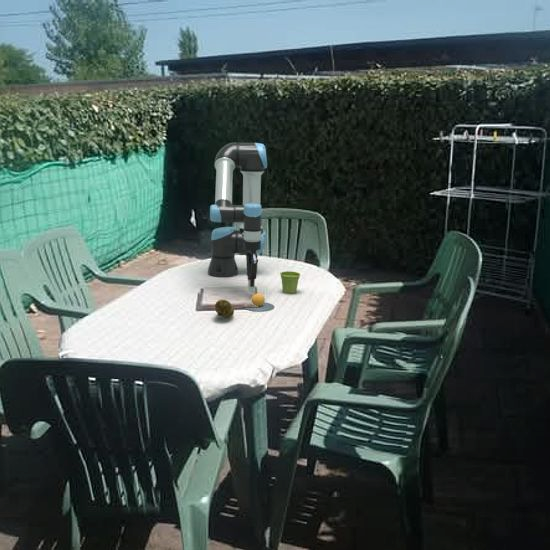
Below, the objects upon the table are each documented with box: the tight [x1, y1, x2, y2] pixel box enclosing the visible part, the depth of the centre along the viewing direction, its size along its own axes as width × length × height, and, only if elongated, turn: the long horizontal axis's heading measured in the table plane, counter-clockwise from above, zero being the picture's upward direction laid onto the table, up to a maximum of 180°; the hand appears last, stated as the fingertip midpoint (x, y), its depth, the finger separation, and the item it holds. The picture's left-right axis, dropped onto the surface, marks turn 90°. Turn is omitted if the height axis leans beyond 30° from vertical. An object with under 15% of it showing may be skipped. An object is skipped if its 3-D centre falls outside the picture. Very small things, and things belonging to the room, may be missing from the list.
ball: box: [251, 293, 266, 306], centre depth 244 cm, size 6×6×6 cm
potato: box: [214, 299, 235, 319], centre depth 228 cm, size 8×13×8 cm, turn 158°
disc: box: [243, 301, 275, 313], centre depth 244 cm, size 13×13×1 cm
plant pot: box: [279, 270, 301, 295], centre depth 266 cm, size 9×9×9 cm
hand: (251, 293), depth 256 cm, fingers closed
